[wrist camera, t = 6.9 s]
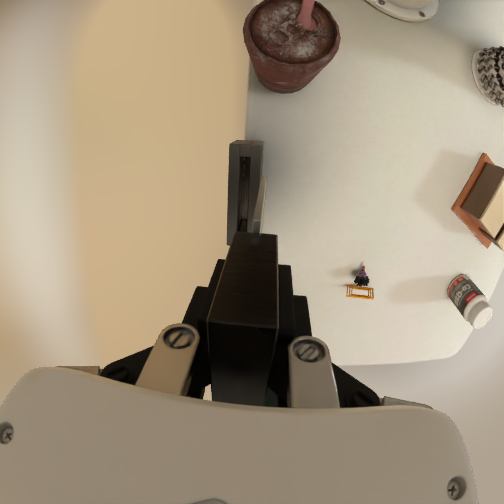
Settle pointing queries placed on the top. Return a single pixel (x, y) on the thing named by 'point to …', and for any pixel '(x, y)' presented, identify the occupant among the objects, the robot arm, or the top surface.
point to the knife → (245, 316)
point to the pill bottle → (470, 301)
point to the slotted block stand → (483, 200)
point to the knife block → (235, 184)
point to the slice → (501, 239)
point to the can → (290, 42)
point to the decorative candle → (490, 74)
